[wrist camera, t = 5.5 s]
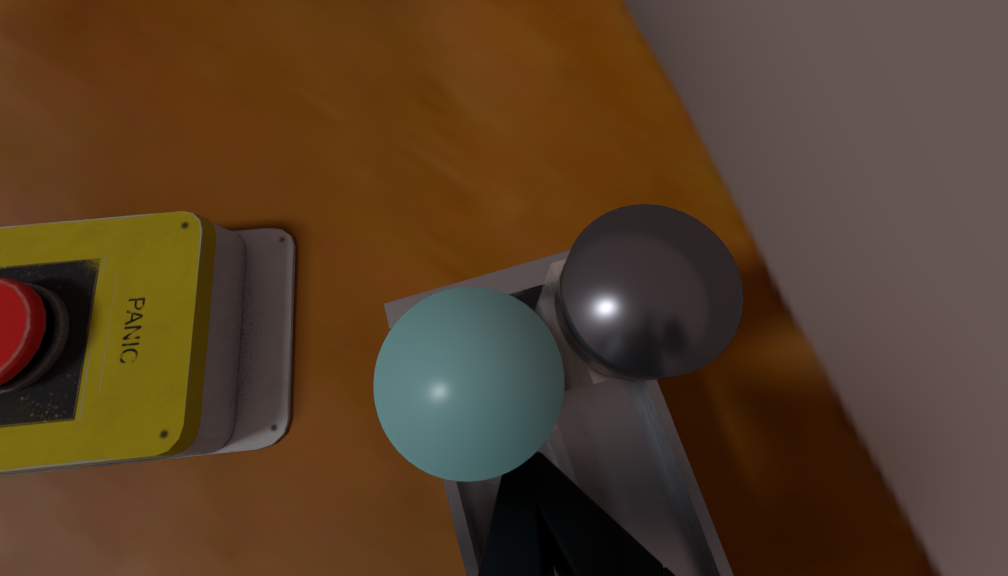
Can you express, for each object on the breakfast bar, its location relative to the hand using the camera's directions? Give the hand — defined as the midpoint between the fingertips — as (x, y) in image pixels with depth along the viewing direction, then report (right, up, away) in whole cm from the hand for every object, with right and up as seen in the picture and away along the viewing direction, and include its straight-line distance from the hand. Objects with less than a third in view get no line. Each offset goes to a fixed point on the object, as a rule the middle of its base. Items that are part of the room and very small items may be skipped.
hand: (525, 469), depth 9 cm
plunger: (-1, 0, +7) cm, 7 cm away
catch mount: (+2, -3, +7) cm, 8 cm away
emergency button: (-17, +1, +9) cm, 19 cm away
